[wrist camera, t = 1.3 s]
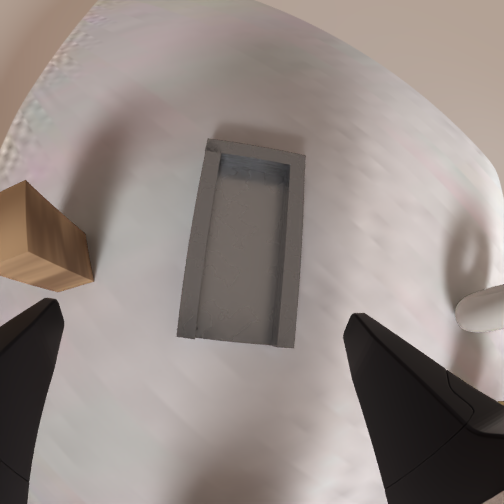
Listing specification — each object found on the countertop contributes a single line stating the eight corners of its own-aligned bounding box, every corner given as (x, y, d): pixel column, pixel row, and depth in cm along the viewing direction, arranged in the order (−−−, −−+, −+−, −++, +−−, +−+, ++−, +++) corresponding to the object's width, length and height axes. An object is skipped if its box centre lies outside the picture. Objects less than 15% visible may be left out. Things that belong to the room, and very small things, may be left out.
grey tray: (284, 345, 22) (294, 348, 20) (178, 334, 21) (175, 336, 18) (296, 169, 26) (305, 155, 23) (206, 154, 25) (207, 138, 22)
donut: (438, 338, 24) (517, 334, 15) (434, 305, 25) (512, 291, 15) (488, 314, 26) (553, 303, 17) (484, 286, 27) (548, 270, 17)
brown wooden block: (94, 281, 21) (28, 251, 11) (58, 292, 20) (-18, 269, 10) (85, 233, 21) (25, 179, 12) (51, 245, 21) (-19, 201, 11)
